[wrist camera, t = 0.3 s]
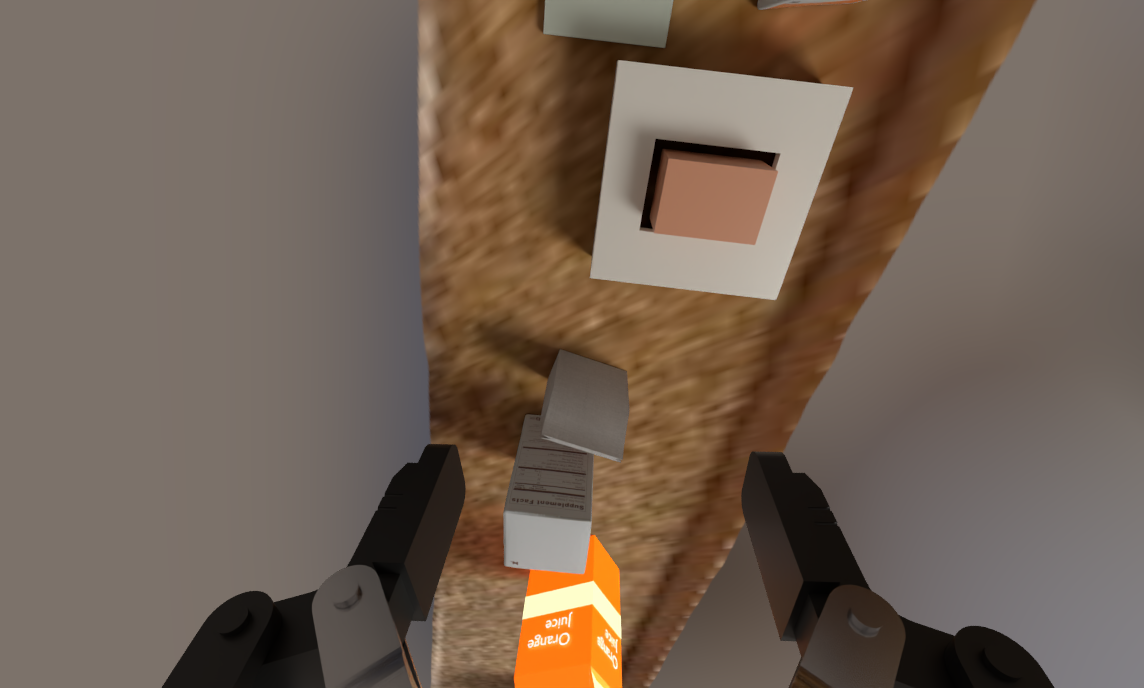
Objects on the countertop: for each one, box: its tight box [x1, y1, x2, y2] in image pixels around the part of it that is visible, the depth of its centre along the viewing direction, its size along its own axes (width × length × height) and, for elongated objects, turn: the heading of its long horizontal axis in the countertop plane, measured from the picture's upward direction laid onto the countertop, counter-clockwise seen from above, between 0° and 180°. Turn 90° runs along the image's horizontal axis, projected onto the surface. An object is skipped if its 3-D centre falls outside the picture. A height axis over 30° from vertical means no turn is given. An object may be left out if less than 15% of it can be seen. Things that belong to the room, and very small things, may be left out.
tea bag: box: [540, 349, 629, 462], centre depth 41 cm, size 4×7×10 cm, turn 71°
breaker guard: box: [590, 60, 853, 300], centre depth 33 cm, size 14×14×4 cm
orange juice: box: [514, 535, 622, 688], centre depth 52 cm, size 8×9×20 cm
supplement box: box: [504, 414, 594, 574], centre depth 44 cm, size 7×7×13 cm
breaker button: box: [650, 149, 778, 245], centre depth 31 cm, size 5×7×4 cm
